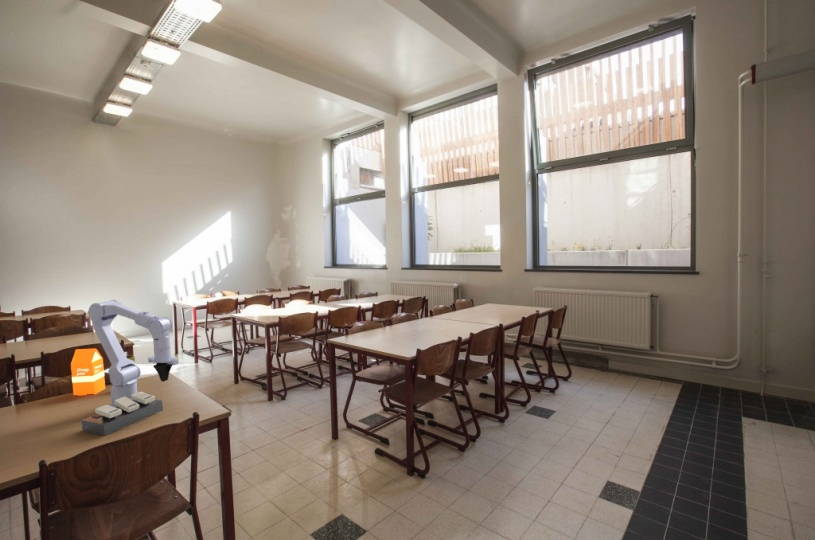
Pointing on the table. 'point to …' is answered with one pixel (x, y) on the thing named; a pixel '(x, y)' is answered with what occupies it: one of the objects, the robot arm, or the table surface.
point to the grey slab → (120, 418)
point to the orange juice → (87, 372)
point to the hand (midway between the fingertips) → (164, 380)
